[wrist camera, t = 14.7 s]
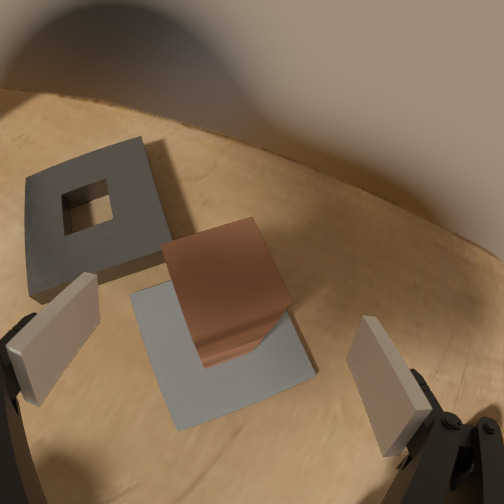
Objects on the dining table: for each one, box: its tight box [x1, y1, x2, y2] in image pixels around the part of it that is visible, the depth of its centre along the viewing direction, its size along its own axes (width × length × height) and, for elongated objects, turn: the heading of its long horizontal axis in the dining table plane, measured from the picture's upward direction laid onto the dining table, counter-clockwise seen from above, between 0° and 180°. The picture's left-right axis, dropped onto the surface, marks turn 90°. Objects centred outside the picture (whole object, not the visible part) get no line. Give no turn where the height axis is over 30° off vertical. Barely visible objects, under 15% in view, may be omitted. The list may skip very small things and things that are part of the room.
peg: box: [161, 217, 292, 369], centre depth 18 cm, size 4×4×14 cm
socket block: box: [25, 136, 173, 305], centre depth 27 cm, size 14×14×2 cm
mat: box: [130, 280, 316, 431], centre depth 25 cm, size 12×12×1 cm
